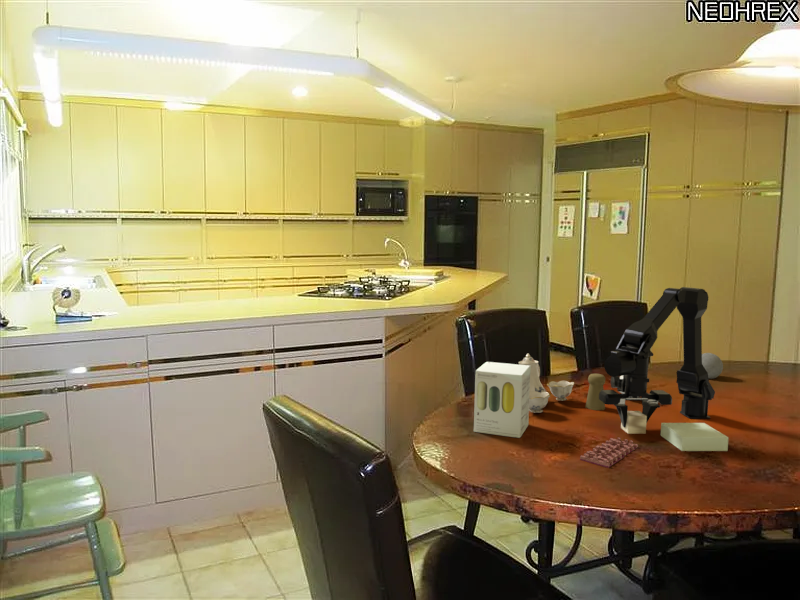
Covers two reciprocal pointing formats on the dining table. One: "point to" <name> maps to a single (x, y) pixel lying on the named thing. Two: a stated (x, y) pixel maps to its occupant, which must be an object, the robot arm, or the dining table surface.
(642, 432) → the birch cube
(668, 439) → the sage block
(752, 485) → the dining table surface
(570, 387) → the chinaware
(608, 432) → the dining table surface
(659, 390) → the robot arm
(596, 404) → the cork
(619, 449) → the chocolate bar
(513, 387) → the supplement box
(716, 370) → the decorative ball
